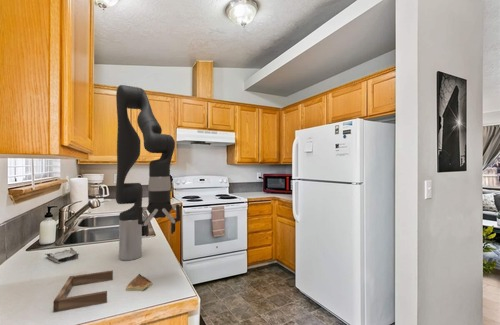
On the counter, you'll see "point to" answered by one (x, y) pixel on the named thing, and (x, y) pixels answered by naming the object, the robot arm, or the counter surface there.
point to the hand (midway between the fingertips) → (159, 234)
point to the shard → (138, 284)
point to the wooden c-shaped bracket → (81, 300)
